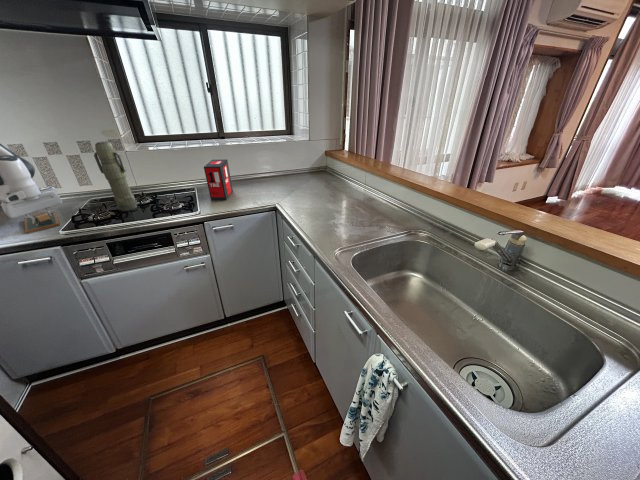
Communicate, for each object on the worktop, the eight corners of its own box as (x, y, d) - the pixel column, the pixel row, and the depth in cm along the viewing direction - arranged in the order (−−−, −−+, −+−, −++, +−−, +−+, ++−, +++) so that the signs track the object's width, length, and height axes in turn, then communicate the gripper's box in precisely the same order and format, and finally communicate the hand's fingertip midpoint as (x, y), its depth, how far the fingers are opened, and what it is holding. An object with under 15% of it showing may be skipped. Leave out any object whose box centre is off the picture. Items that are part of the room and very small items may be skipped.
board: (25, 220, 135) (23, 218, 135) (56, 213, 143) (55, 211, 142) (26, 233, 123) (24, 231, 122) (60, 225, 130) (58, 223, 130)
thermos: (137, 210, 146) (112, 143, 128) (113, 212, 144) (84, 144, 126) (142, 204, 153) (119, 140, 136) (119, 206, 151) (93, 141, 133)
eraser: (36, 222, 131) (32, 214, 129) (46, 218, 134) (42, 211, 132) (41, 224, 128) (37, 217, 126) (52, 221, 131) (48, 214, 129)
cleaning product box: (226, 200, 158) (219, 166, 148) (211, 200, 157) (203, 166, 147) (232, 190, 172) (227, 159, 162) (218, 191, 172) (212, 159, 162)
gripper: (50, 184, 132) (63, 209, 139) (-7, 198, 116) (12, 226, 123) (56, 186, 130) (70, 211, 137) (0, 200, 114) (18, 228, 121)
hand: (42, 218), depth 130 cm, fingers closed on eraser, 4 cm apart
